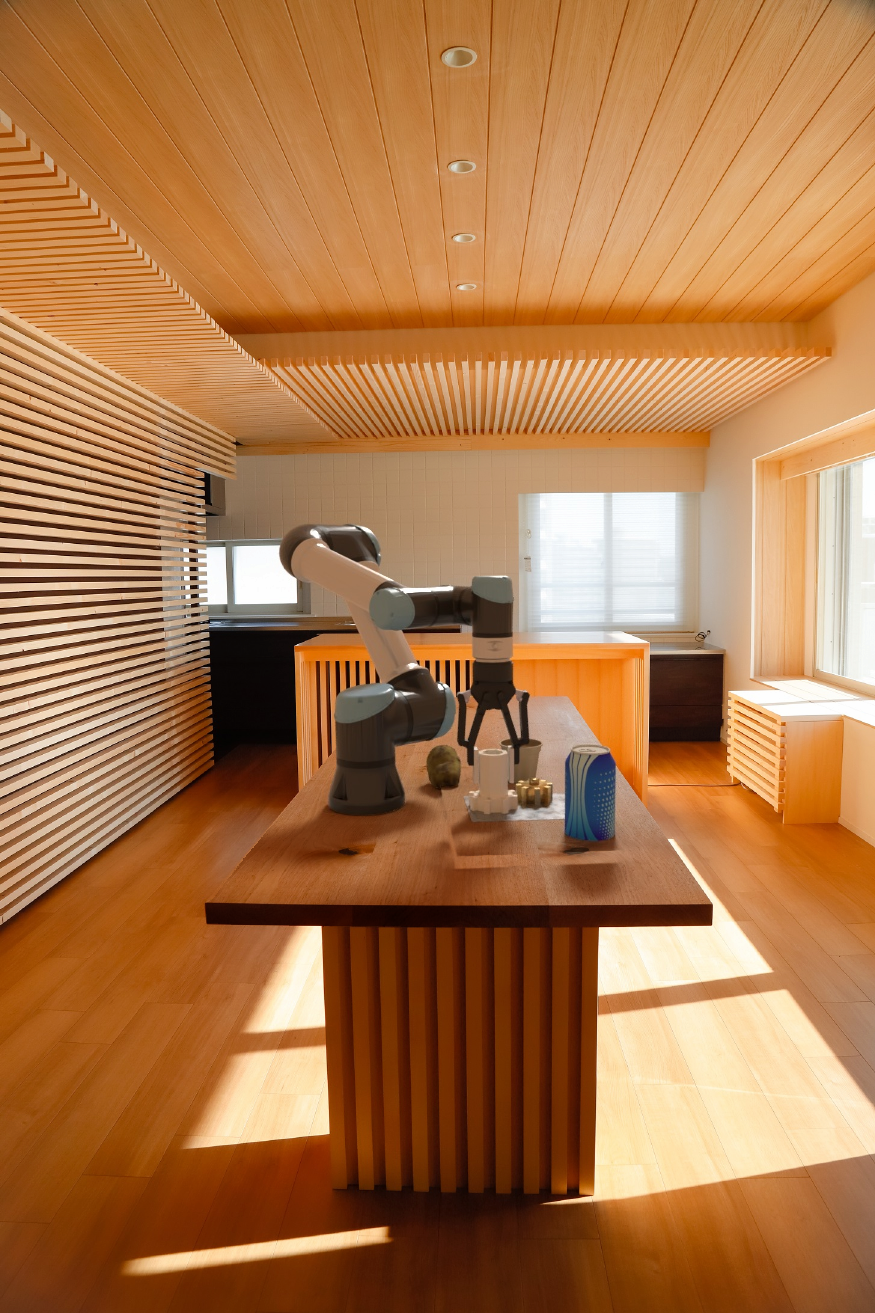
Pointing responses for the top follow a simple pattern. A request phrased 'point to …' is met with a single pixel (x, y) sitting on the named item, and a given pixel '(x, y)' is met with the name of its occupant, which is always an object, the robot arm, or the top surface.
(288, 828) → the top surface
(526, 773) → the flower pot
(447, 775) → the potato
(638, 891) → the top surface
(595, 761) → the beer can
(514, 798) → the planet gear
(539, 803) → the plate
